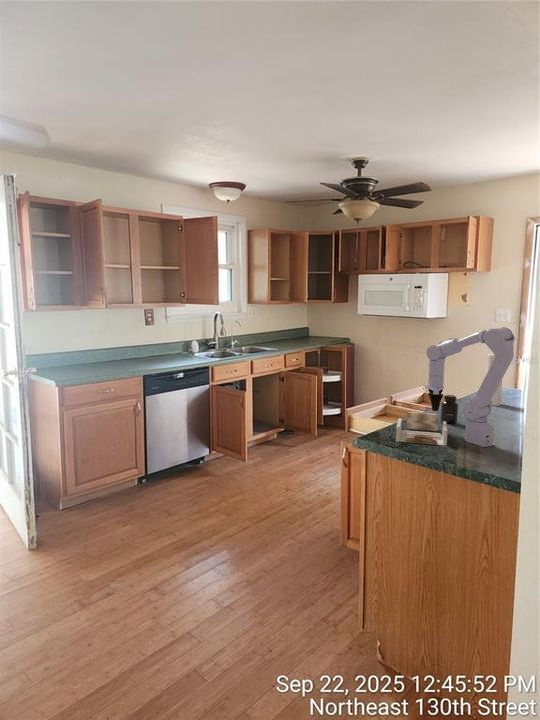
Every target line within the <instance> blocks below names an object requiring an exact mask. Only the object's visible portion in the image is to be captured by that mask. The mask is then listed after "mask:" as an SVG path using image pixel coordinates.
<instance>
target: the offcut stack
mask: <svg viewBox="0 0 540 720" xmlns="http://www.w3.org/2000/svg"><path fill="white" fill-rule="evenodd" d="M413 442H415V443H416V444H424V443H426V444H425V445H436V444H437V440H434V439H433V435H422V434H415V436H409V435H407V437H406V442H405V443H413Z"/></svg>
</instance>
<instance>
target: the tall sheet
mask: <svg viewBox="0 0 540 720" xmlns="http://www.w3.org/2000/svg"><path fill="white" fill-rule="evenodd" d="M407 429H408V430H419V431H420V430H421V431H432V432H433V431H434V432H435V431H436V432H438V431H439V413H431V412H430V413H427V412H413V411H406V430H407Z"/></svg>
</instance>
